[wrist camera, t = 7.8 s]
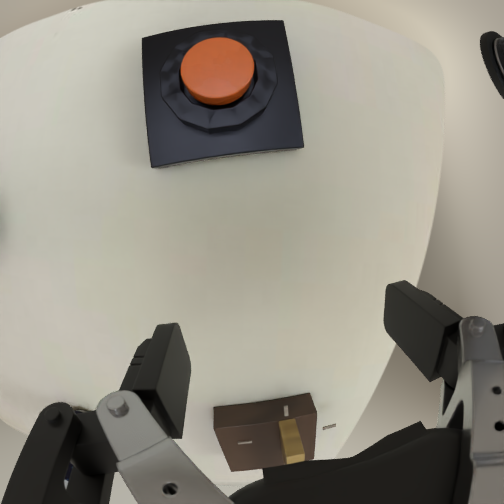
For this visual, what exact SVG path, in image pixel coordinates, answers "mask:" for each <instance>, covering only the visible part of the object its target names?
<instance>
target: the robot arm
mask: <svg viewBox="0 0 504 504" xmlns="http://www.w3.org/2000/svg"><path fill="white" fill-rule="evenodd" d="M492 48H493V54H494V57H495V61H496V64H497V66H498V69H499V71H500V73H501V75H502V77H503V79H504V37H502V38H496V39H494V40H493V43H492ZM384 326H385V330H386V332H387V333H388V334H389V336H390V337H391V338H392V339H393V340H394V341H395V342H396V343H397V345H398V346H399V347H400V348H401V349H402V350H403V351H404V353H405V354H406V355H407V356H408V357H409V358H410V359H411V361H412V362H413V363H414V364H415V365H416V366H417V368H418V369H419V370H420V371H421V372H422V373H423V374H424V376H425V377H426V378H427V379H428V381H429V382H431V381H433V380H435V379H437V378H439V377H442V378H443V381H442V384H441V393H440V404H439V414H438V422H437V426H436V428H432V429H426V428H425V427H424V426H423V424H422V422H421V421H419V422H417V423H415V424H413V425H410V426H408V427H406V428H404V429H402V430H399V431H397V432H394V433H392V434H390V435H387V436H386V437H384V438H383V439H381V440H380V441H378V442H377V443H375V444H374V445H372V446H370V447H369V448H367V449H365V450H364V451H362V452H360V453H359V454H357V455H355V456H353V457H350V458H342V459H329V460H306V461H301V462H296V463H291V464H286V465H280V466H274V467H268V468H262V470H263V477H264V478H263V479H261V480H258V481H255V482H253V483H251V484H248V485H246V486H245V487H243V488H241V489H239V490H237V491H236V492H235V493H233V494H232V495H230V496H229V497H227V496H226V495H225V494H224V493H223V492H221V490H220V489H219V488H217V487H216V486H215V485H214V484H213V483H212V482H211V481H210V480H209V479H208V478H207V477H206V476H205V475H204V474H203V473H202V471H201V470H200V469H199V468H198V467H197V466H196V465H195V464H194V463H193V462H192V461H191V460H190V459H189V457H188V456H187V455H186V454H185V453H184V452H183V451H182V450H181V448H180V447H179V446H178V445H177V444H176V442H175V441H174V440H173V439H182V435H183V427H184V419H185V411H186V404H187V396H188V389H189V382H190V376H191V362H190V357H189V354H188V351H187V348H186V345H185V342H184V339H183V336H182V332H181V329H180V326H179V324H178V323H169V324H160V325H157V326H156V329H155V331H154V334H153V336H152V339H146V340H145V341H144V342H143V343H142V344H141V345H140V346H138V348H137V350H136V352H135V354H134V358H133V359H132V361H131V363H130V365H131V366H129V368H128V370H127V373H126V375H125V377H124V380H123V382H122V384H121V387H120V389H119V391H116V392H113V393H110V394H108V395H107V396H105V397H104V398H103V399H102V400H101V401H100V402H99V404H98V406H97V409H96V410H94V411H89V412H84V413H78V414H76V413H75V412H74V410H73V409H72V408H71V406H70V405H68V404H67V403H63V402H58V403H53V404H51V405H49V406H47V407H46V408H44V409H43V410H42V412H41V413H40V414H39V416H38V418H37V420H36V422H35V424H34V426H33V428H32V430H31V432H30V434H29V436H28V438H27V440H26V443H25V445H24V447H23V449H22V451H21V454H20V456H19V458H18V461H17V463H16V465H15V468H14V470H13V473H12V475H11V478H10V480H9V483H8V485H7V489H6V491H5V494H4V497H3V500H2V503H1V504H109V501H110V495H111V489H112V484H113V478H114V473H115V472H119V473H120V474H121V476H122V478H123V479H124V481H125V483H126V485H127V487H128V488H129V490H130V491H131V493H132V495H133V496H134V498H135V500H136V501H137V503H138V504H504V323H503V324H499V325H494V326H493V325H492V323H491V322H490V321H488V320H487V319H485V318H482V317H478V316H470V317H466V318H462V317H461V316H459V315H458V314H457V313H456V312H454V311H453V310H451V309H450V308H449V307H447V306H446V305H443V303H442V302H440V301H439V300H436V298H435V297H433V296H432V295H431V294H429V293H427V292H425V291H422V290H419V289H417V288H416V287H415V286H413V285H412V284H410V283H409V282H407V281H406V280H403V281H399V282H395V283H391V284H388V285H387V287H386V293H385V308H384ZM70 462H71V463H72V464H73V467H72V471H71V474H70V478H69V481H68V485H67V488H66V489H65V484H64V480H65V476H66V473H67V470H68V467H69V463H70Z"/></svg>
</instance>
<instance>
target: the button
mask: <svg viewBox="0 0 504 504" xmlns="http://www.w3.org/2000/svg"><path fill="white" fill-rule="evenodd" d="M253 73H254V60H253V57H252V55H251V53H250V52H249V50H248V49H247V48H246V47H245V46H244V45H242V44H241V43H239V42H237V41H235V40H233V39H229V38H222V37H217V38H210V39H206V40H203V41H201V42H199V43H197V44H196V45H194V46H193V47H192V48H191V49H190V50H189V51H188V52H187V53H186V55H185V56H184V58H183V60H182V63H181V77H182V80H183V82H184V84H185V86H186V88H187V90H188V92H189V93H190V94H191V95H192V96H193V97H194V98H195V99H196V100H198V101H200V102H202V103H204V104H208V105H225V104H228V103H231V102H234V101H235V100H237V99H239V98H240V97H241V96H242V95H243V94H244V93H245V92H246V91H247V90H248V88H249V86H250V83H251V80H252V76H253Z"/></svg>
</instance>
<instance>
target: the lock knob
mask: <svg viewBox="0 0 504 504" xmlns="http://www.w3.org/2000/svg"><path fill="white" fill-rule="evenodd" d="M279 431H280V441H281V451H282V456H283V461H284V465H286V464H291V463H296V462H301V461H305V452H304V449H303V445H302V441H301V438H300V434H299V431H298V427H297V424H296V420H295V418H294V419H288V420H283V421H279Z"/></svg>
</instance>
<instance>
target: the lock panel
mask: <svg viewBox="0 0 504 504" xmlns="http://www.w3.org/2000/svg"><path fill="white" fill-rule="evenodd" d="M294 418H295V420H296V424H297V427H298V431H299V434H300V438H301V441H302V445H303V449H304V452H305V461H306V460H312V459H314V451H315V438H316V423H317V411H316V408H315V406H314V403H313V400H312V397H311V395H310V393H307V394H302V395H297V396H292V397H287V398H281V399H275V400H269V401H263V402H256V403H248V404H240V405H232V406H222V407H214V431H215V433H216V436H217V438H218V441H219V443H220V446H221V448H222V451H223V453H224V456H225V458H226V460H227V463H228V465H229V467H230V470H231V472H234V471H245V470H254V469H262V468H268V467H274V466H280V465H284V461H283V456H282V451H281V441H280V431H279V421H283V420H288V419H294ZM332 427H336V424H333V425H329V426H325V427H323V430H324V429H328V428H332Z"/></svg>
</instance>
